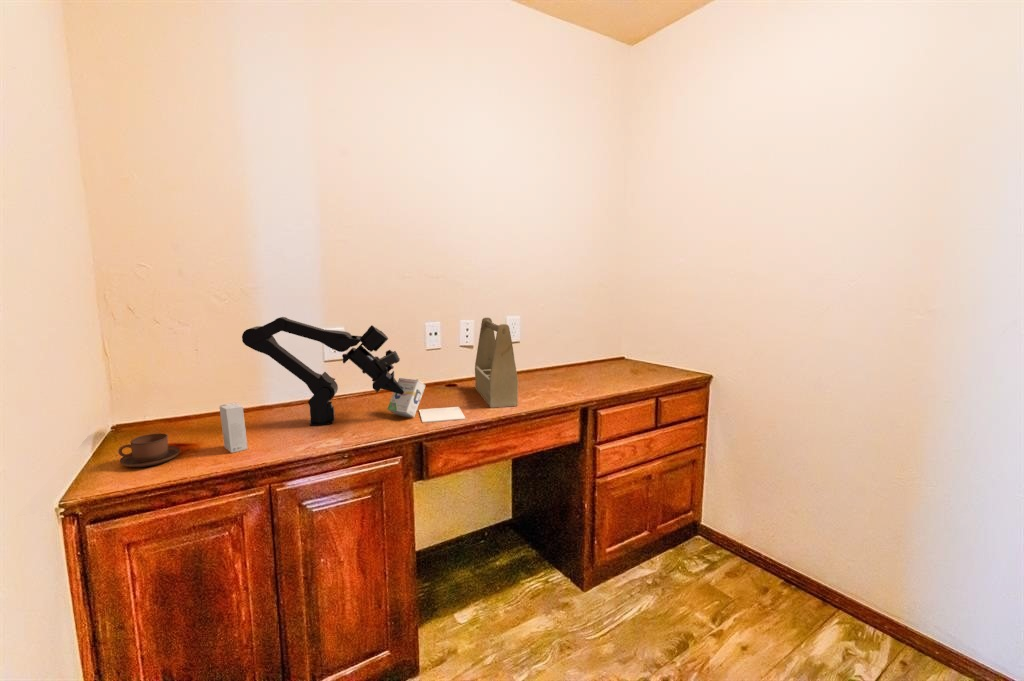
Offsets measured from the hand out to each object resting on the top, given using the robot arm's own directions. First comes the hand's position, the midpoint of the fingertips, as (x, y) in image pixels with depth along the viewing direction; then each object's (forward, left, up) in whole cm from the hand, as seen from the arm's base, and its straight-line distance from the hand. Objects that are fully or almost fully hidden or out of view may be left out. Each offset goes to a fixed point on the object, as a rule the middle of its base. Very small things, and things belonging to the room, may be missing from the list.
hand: (403, 393), depth 152 cm
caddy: (+35, +18, -9) cm, 41 cm away
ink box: (-1, 0, -7) cm, 7 cm away
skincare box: (-46, -16, -9) cm, 49 cm away
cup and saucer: (-63, -20, -9) cm, 67 cm away
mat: (+12, 0, -8) cm, 15 cm away
